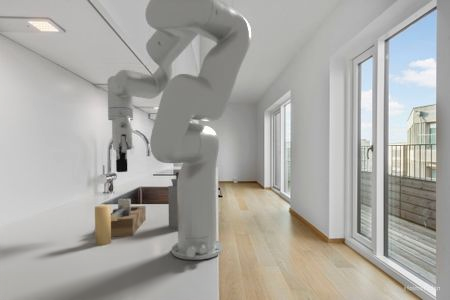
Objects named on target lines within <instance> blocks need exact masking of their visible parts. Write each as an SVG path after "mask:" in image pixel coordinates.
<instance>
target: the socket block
mask: <svg viewBox="0 0 450 300" xmlns="http://www.w3.org/2000/svg"><path fill="white" fill-rule="evenodd" d="M146 208H147V207H146V205H138V206H137V205H135V206H134V205H133V206H132V205H131V212H130V208H126V209H125V215H124V216H123V217H121V218H120V219H119V220H118V221H111V237H123V236H124V237H125V236H127V237H128V236H134V235H135V233H136V232H137V231H138V229H139V228H140V227H141V226H142V225H143V223H144V222H145V221H146V219H147V218H146V214H147V213H146V211H147V209H146ZM118 210H119V209H118V208H114V209H112V212H111V215H112V214H114V213H115V212H117V211H118Z"/></svg>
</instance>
